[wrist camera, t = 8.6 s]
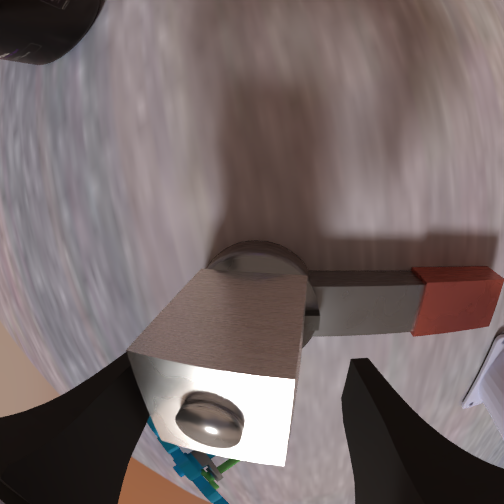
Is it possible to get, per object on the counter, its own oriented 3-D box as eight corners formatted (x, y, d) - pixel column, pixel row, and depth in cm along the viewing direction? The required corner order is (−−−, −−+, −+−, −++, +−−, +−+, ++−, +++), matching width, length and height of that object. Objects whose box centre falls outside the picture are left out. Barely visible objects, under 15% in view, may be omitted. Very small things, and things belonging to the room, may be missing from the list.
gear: (122, 398, 18) (197, 505, 11) (187, 362, 21) (278, 448, 14) (169, 456, 23) (231, 527, 16) (215, 428, 26) (282, 490, 19)
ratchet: (491, 244, 13) (543, 278, 8) (468, 328, 15) (504, 374, 10) (197, 240, 15) (159, 285, 10) (207, 337, 17) (184, 400, 12)
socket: (307, 275, 12) (292, 391, 6) (300, 361, 13) (282, 475, 7) (201, 268, 13) (118, 358, 7) (210, 350, 14) (157, 447, 8)
